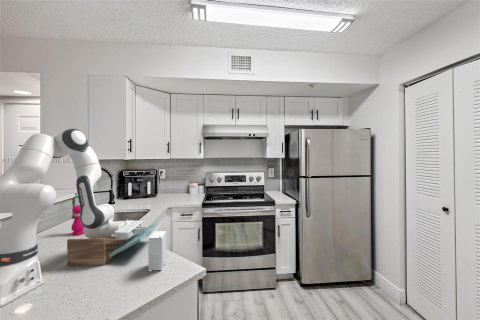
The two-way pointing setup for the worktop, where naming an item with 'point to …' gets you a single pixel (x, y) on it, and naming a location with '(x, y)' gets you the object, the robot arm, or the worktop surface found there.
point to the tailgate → (133, 239)
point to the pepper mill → (77, 222)
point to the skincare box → (157, 250)
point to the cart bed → (91, 250)
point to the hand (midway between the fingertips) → (145, 229)
